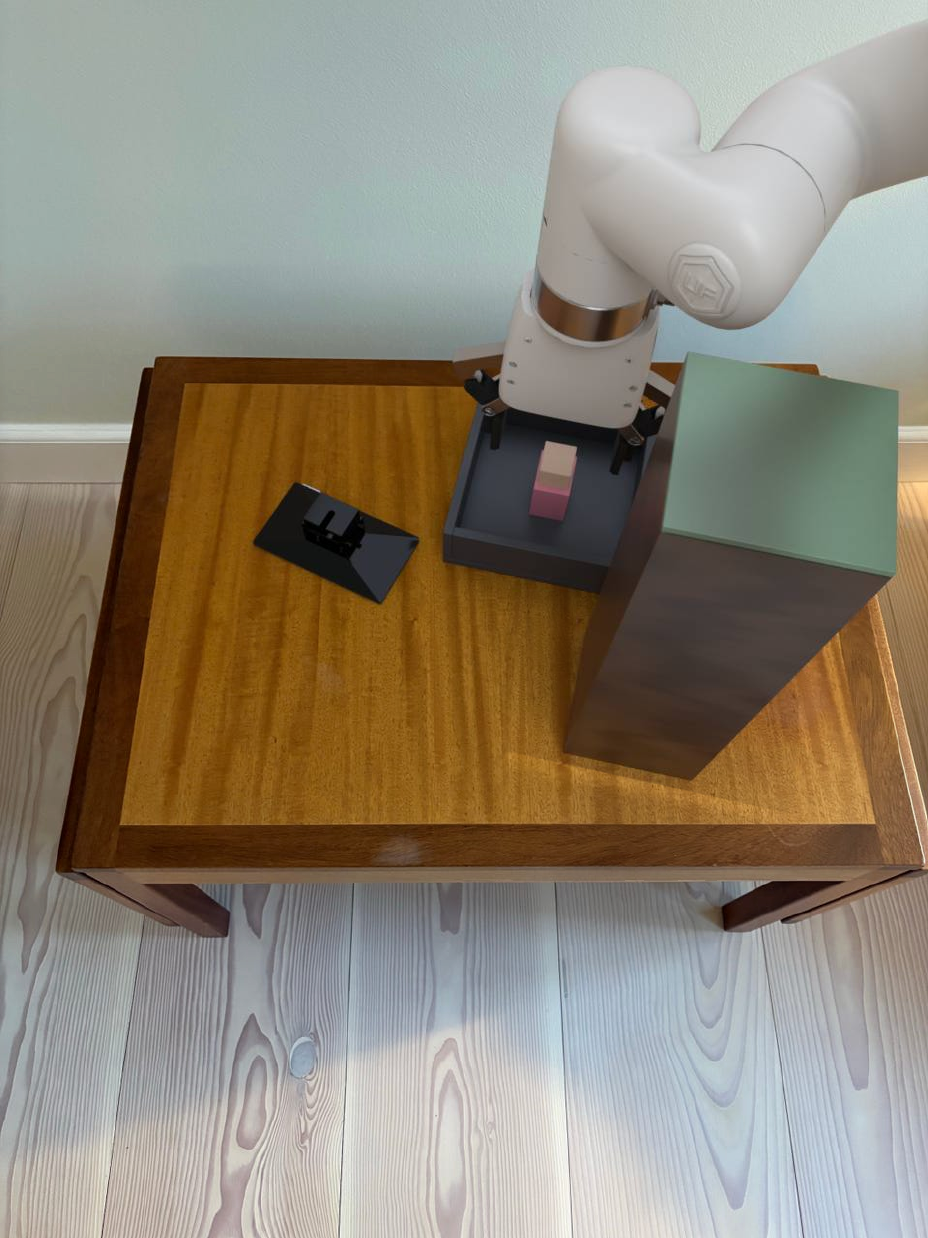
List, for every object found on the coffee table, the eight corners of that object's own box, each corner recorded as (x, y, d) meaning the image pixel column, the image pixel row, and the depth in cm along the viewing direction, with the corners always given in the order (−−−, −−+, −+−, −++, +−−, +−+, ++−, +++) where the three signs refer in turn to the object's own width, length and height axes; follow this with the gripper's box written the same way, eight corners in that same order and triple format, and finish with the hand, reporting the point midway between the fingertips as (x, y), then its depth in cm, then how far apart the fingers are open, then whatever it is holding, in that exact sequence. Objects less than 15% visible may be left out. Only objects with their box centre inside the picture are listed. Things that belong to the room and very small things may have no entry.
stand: (705, 662, 72) (899, 389, 42) (691, 781, 68) (897, 573, 38) (583, 637, 73) (687, 350, 43) (563, 753, 69) (662, 526, 38)
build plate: (252, 545, 76) (241, 516, 72) (297, 481, 79) (289, 450, 75) (380, 605, 74) (376, 578, 69) (422, 537, 77) (420, 508, 72)
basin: (648, 449, 81) (660, 416, 77) (624, 599, 75) (636, 572, 70) (480, 417, 82) (482, 382, 78) (442, 561, 76) (442, 532, 71)
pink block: (570, 483, 78) (580, 442, 73) (563, 521, 77) (572, 482, 71) (537, 476, 79) (544, 434, 73) (528, 514, 77) (535, 474, 71)
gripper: (735, 268, 57) (669, 432, 72) (470, 217, 58) (461, 390, 73) (724, 358, 54) (657, 509, 69) (444, 303, 55) (440, 464, 70)
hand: (556, 447), depth 71 cm, fingers open, 9 cm apart
